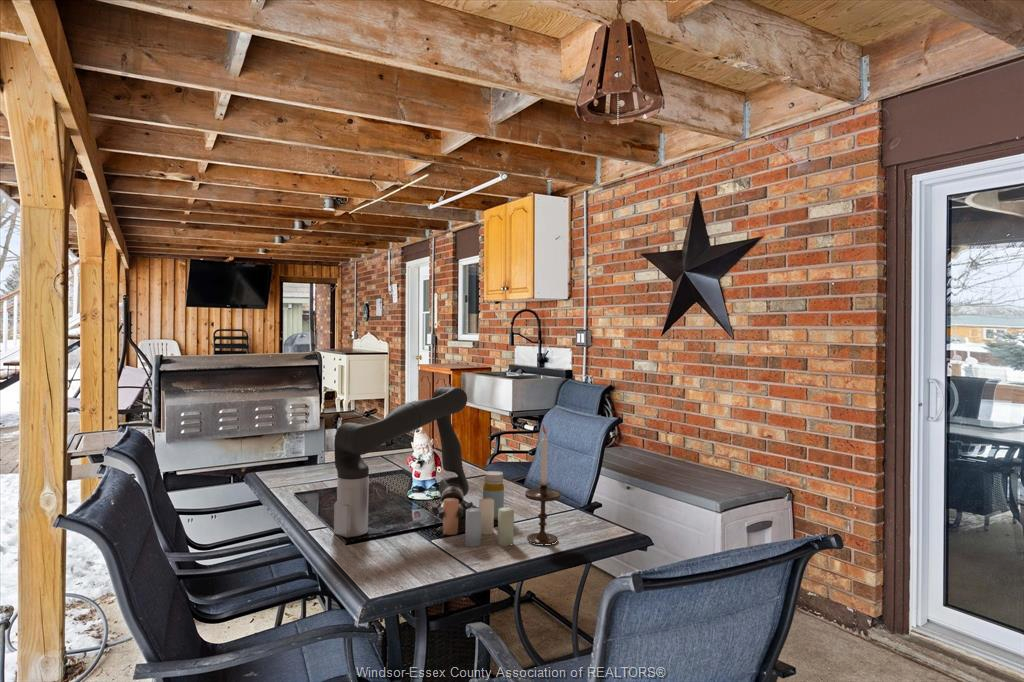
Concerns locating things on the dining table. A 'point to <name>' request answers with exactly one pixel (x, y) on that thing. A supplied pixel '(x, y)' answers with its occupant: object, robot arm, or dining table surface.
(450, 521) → the terracotta canister
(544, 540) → the candlestick
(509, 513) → the sage canister
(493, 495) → the bottle
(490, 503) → the cream canister
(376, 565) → the dining table surface
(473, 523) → the dusty blue canister
